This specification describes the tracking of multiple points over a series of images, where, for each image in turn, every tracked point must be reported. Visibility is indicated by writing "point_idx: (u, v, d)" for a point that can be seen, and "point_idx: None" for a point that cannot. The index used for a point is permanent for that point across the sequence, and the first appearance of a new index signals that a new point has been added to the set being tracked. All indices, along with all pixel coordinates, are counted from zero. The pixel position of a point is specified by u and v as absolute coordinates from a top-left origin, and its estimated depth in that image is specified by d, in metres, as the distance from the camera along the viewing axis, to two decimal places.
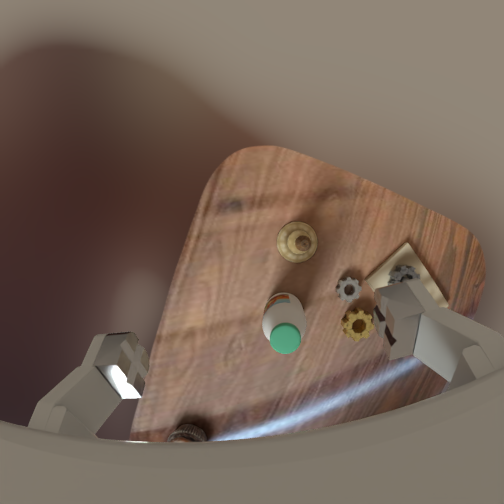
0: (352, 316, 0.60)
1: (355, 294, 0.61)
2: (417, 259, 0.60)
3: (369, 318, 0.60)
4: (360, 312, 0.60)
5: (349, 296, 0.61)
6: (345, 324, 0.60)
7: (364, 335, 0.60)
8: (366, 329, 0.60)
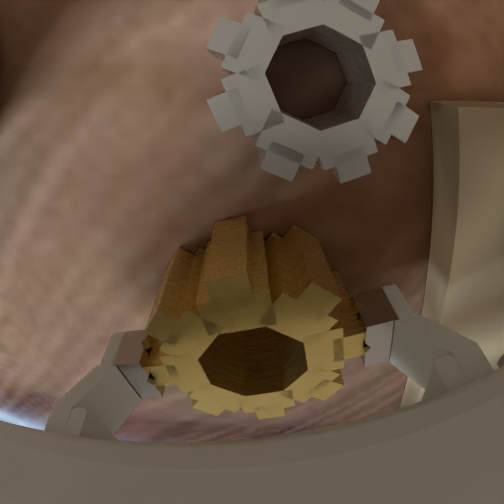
0: (238, 292, 0.08)
1: (350, 140, 0.07)
2: None
3: (343, 352, 0.09)
4: (313, 298, 0.07)
5: (294, 127, 0.07)
6: (161, 321, 0.08)
7: (259, 408, 0.10)
8: (287, 391, 0.09)
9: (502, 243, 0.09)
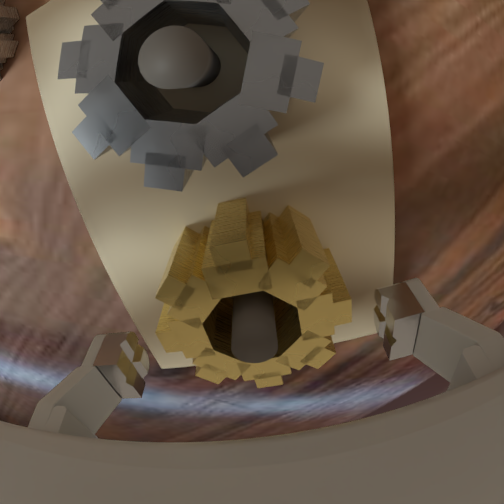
0: (238, 258, 0.09)
1: None
2: (362, 21, 0.08)
3: (333, 318, 0.10)
4: (304, 264, 0.09)
5: None
6: (170, 286, 0.09)
7: (258, 375, 0.11)
8: (283, 358, 0.11)
9: None
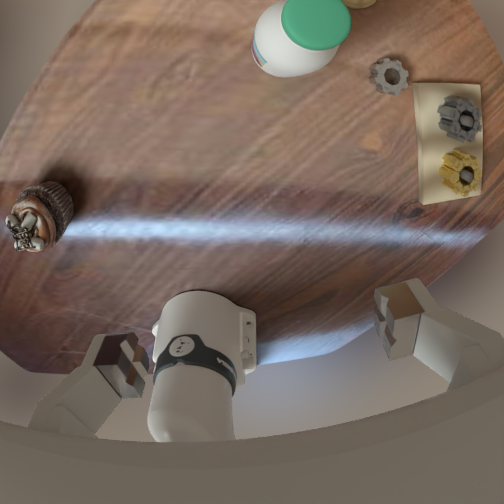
0: (467, 158, 0.35)
1: (396, 87, 0.33)
2: None
3: (479, 175, 0.36)
4: (476, 160, 0.35)
5: (387, 84, 0.33)
6: (457, 162, 0.35)
7: (464, 191, 0.37)
8: (470, 185, 0.37)
9: (435, 116, 0.35)
